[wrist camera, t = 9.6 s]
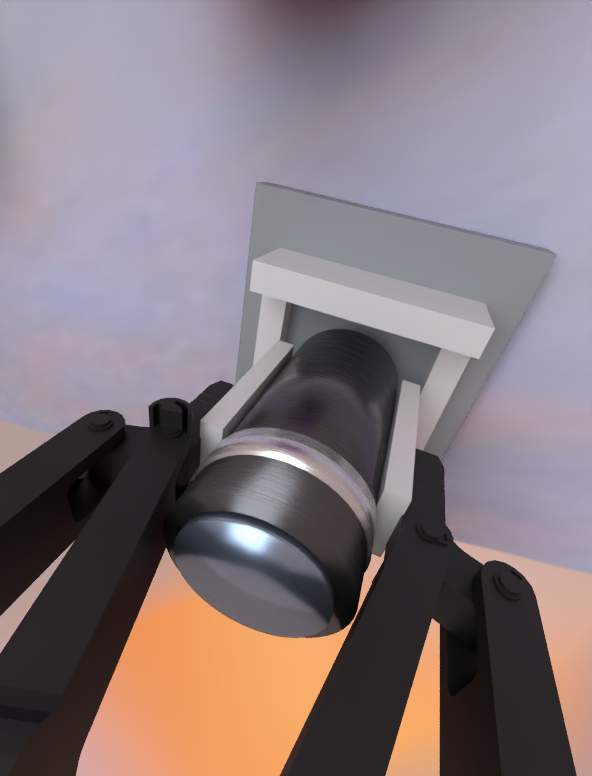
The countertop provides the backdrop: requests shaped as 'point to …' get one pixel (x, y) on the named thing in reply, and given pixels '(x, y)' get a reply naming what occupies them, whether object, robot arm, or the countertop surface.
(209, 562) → the lens
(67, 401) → the countertop surface
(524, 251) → the mount
